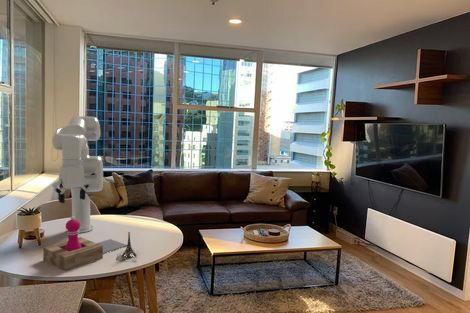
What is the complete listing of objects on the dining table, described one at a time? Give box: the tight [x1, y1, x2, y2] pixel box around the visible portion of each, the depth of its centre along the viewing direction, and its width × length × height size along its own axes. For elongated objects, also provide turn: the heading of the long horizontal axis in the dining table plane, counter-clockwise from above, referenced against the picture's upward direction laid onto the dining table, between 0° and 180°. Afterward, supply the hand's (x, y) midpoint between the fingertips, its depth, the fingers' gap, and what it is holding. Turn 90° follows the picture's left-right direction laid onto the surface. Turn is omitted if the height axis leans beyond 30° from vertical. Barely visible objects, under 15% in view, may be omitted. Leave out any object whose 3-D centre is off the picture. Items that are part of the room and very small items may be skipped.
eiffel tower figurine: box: [115, 231, 137, 263], centre depth 165 cm, size 15×10×13 cm
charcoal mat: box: [96, 238, 127, 255], centre depth 177 cm, size 14×14×1 cm
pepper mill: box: [65, 216, 82, 252], centre depth 159 cm, size 7×7×20 cm
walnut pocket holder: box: [42, 236, 104, 272], centre depth 160 cm, size 18×18×6 cm
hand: (72, 200), depth 157 cm, fingers open, 9 cm apart
